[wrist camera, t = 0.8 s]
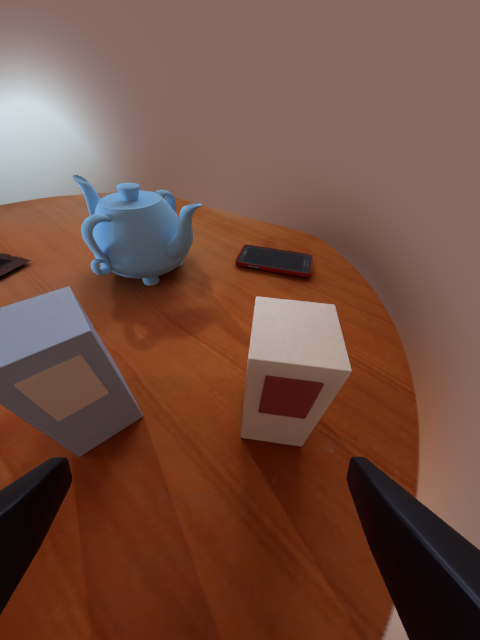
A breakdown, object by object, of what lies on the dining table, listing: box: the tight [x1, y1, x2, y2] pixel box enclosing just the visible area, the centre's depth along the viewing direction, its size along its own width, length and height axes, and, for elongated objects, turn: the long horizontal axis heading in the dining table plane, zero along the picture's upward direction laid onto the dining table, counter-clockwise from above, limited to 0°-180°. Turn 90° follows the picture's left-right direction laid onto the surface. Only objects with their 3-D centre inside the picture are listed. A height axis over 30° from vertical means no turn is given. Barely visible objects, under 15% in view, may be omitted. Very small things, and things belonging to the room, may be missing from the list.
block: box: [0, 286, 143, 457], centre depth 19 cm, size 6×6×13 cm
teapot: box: [73, 175, 202, 286], centre depth 39 cm, size 16×20×14 cm
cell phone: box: [236, 245, 313, 277], centre depth 46 cm, size 8×15×1 cm, turn 75°
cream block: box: [240, 297, 352, 447], centre depth 20 cm, size 6×6×13 cm
